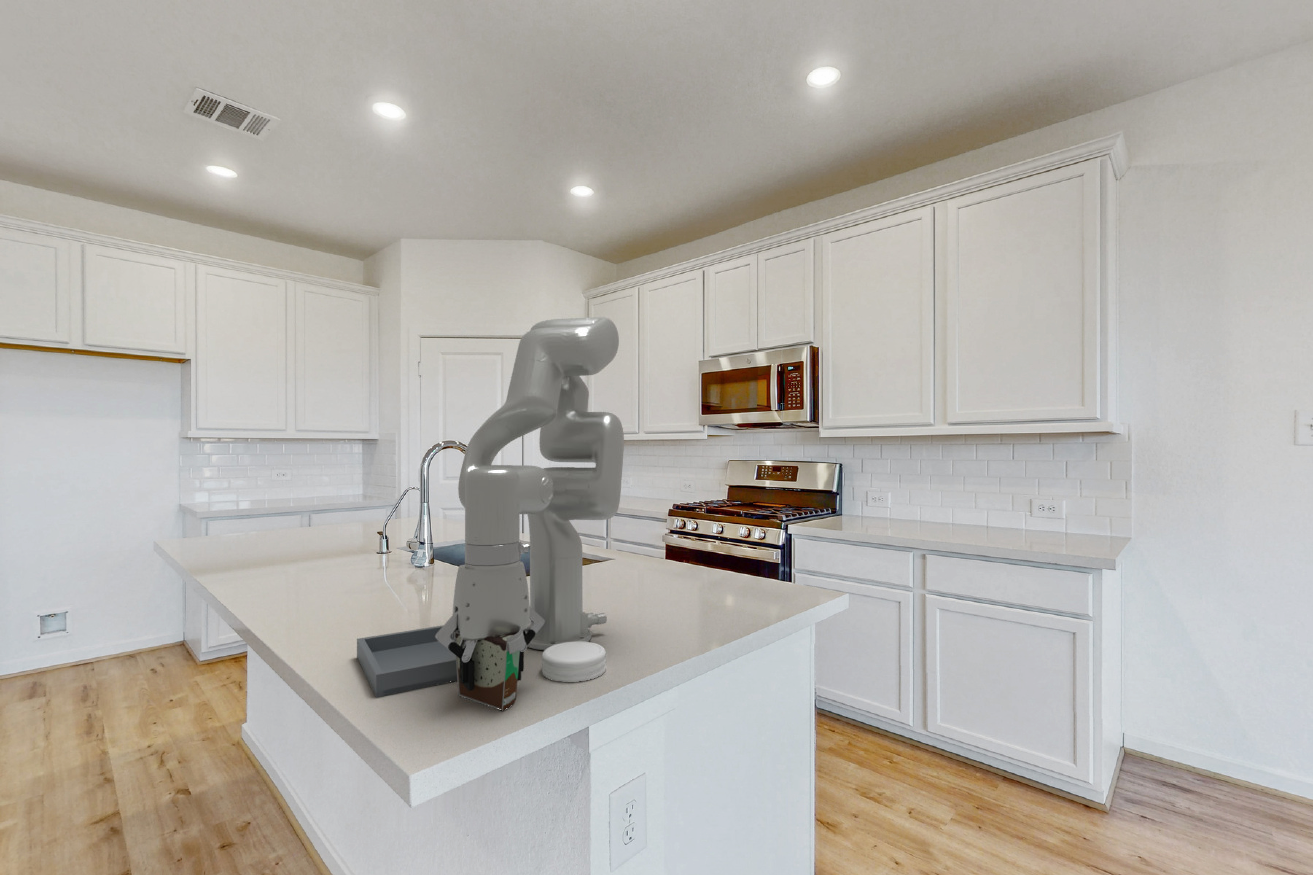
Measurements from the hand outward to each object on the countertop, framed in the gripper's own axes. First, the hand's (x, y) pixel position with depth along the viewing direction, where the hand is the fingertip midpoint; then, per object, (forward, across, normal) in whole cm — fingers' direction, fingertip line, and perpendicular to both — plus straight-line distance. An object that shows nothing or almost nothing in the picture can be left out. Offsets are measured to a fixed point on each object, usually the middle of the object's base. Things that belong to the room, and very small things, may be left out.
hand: (492, 681), depth 88 cm
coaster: (+3, -14, -3) cm, 15 cm away
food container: (+3, -1, 0) cm, 3 cm away
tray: (+2, +4, -19) cm, 20 cm away
